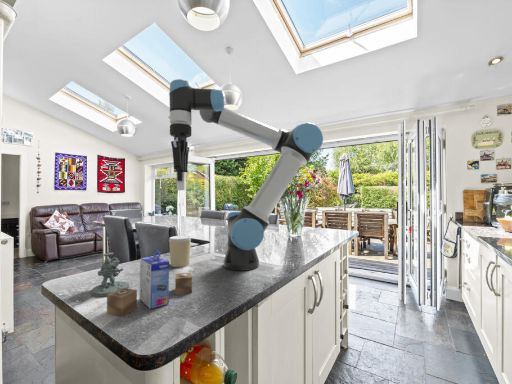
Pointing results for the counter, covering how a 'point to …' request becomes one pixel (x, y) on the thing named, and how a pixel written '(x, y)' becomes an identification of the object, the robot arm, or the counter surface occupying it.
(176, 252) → the coffee cup
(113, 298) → the walnut cube
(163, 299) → the ink cartridge box
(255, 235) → the robot arm
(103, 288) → the figurine
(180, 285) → the walnut cube
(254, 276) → the counter surface
